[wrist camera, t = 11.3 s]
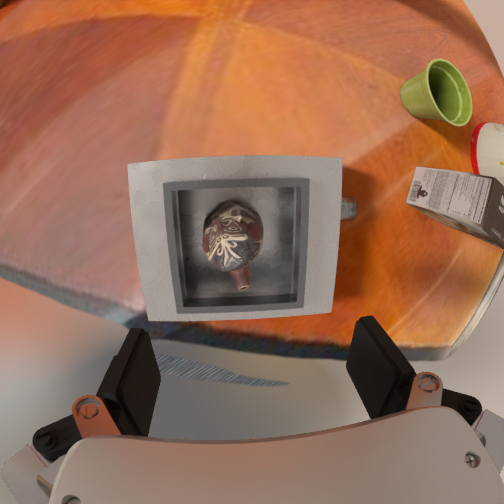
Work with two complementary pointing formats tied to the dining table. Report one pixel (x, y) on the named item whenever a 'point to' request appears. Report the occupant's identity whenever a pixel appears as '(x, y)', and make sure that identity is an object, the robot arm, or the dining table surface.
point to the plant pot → (438, 94)
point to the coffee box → (461, 201)
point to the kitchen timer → (488, 150)
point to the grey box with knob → (274, 239)
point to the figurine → (233, 239)
